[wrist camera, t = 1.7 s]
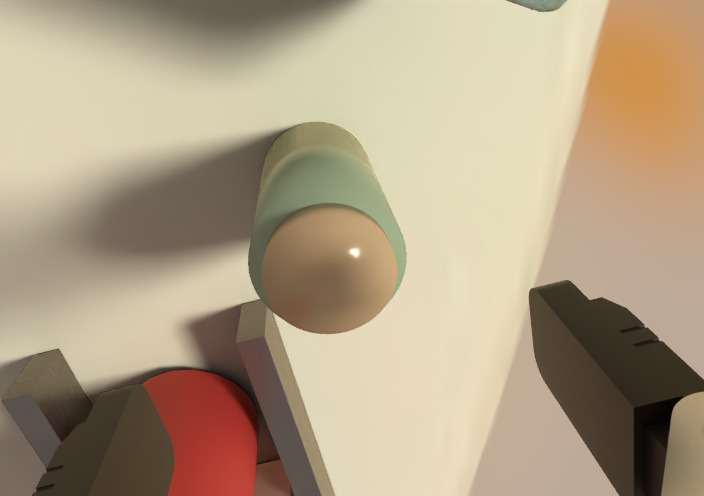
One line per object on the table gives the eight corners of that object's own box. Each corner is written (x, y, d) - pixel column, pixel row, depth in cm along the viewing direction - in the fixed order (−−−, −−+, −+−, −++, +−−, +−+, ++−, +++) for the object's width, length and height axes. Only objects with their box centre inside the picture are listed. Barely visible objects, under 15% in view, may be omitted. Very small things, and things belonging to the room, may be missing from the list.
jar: (248, 136, 21) (222, 222, 14) (357, 110, 21) (395, 180, 13) (279, 235, 23) (272, 361, 15) (379, 211, 23) (423, 324, 15)
